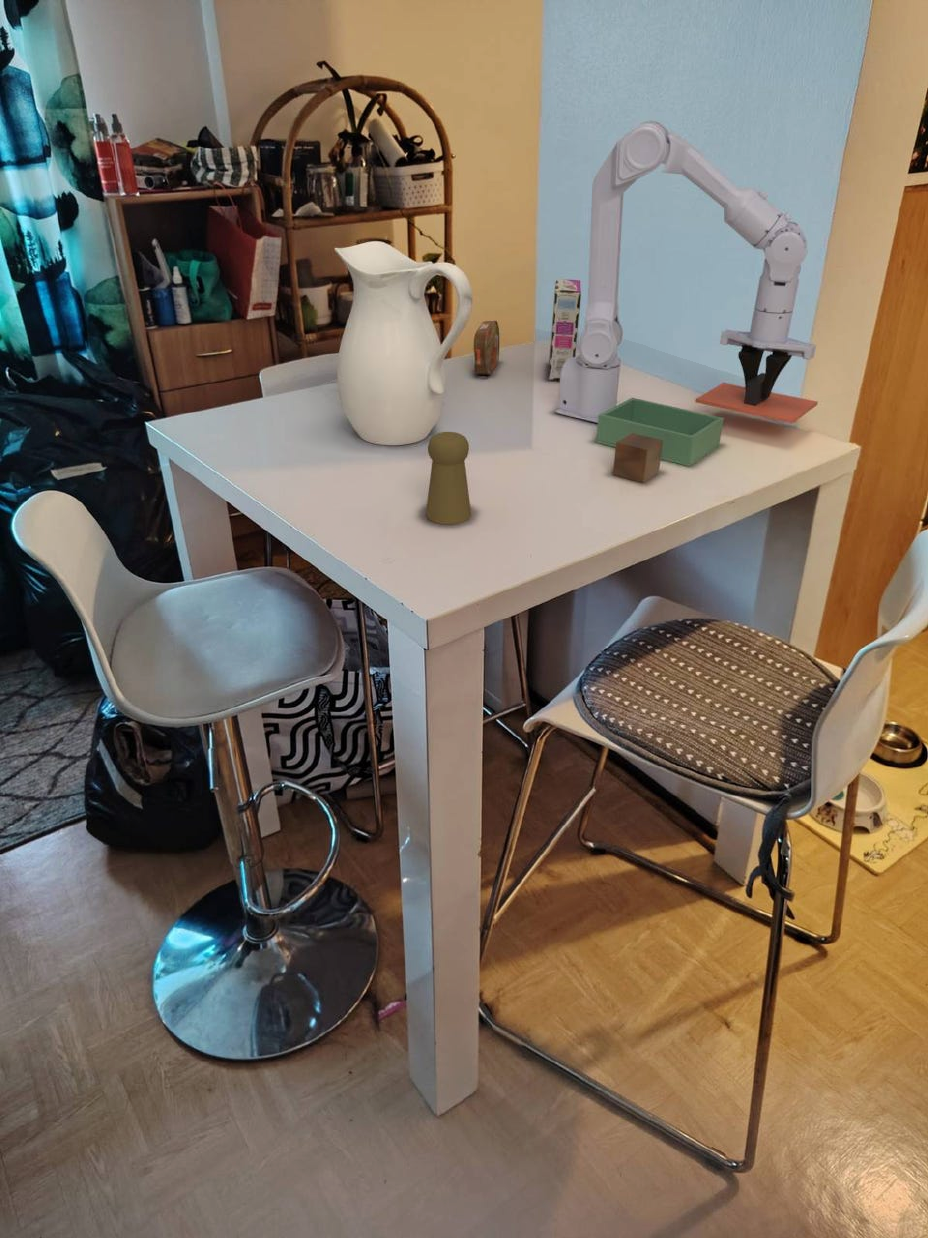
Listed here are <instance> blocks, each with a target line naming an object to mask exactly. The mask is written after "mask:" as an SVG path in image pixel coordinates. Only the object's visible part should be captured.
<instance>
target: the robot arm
mask: <svg viewBox="0 0 928 1238" xmlns="http://www.w3.org/2000/svg"><path fill="white" fill-rule="evenodd" d="M661 164H663V165H664V166H663V169H662V173H663V174H675V175H682V176H683V177H685V178H686V179H687V180H689V181H690V182H691V183H692V184H693V185H695V186H696V187H698V188H699V190H701V191H703V192H704V193H705V194H706V195H707V196H708V197H710V198H711V199H712V200H713V201H714V202H715V203H717V204H718V205H720V206H721V207H722V208H723V211H724V212H723V220H724V223H725V224H727V226H729V227H730V228H731V229H732V230H734V232H736V233H737V234H738V235H739V236H740V237H741V238H743V240H744V241H746V242H747V243H748V244H750V245H751V246H752V247H753V248H754V249H755V250H762V251H763V253H764V261H763V268H762V271H761V272H762V273H761V275H760V276H759V280H758V285H757V286H758V287H757V291H756V296H755V303H754V308H753V312H752V318H751V325H750V329H749V330H750V331H741V330H740V331H739V330H733V329H732V330H731V329H725V330H723V331H722V332H721V335H720V341H719V342H720V343H719V345H724V346H727V345H729V346H735V347H741V349H740V351H738V354H737V355H738V360H739V363H740V366H741V369H742V373H743V377H744V387H745V389H746V388H747V382H748V381H749V380H751V379H753V378H754V377H756V376H757V375H759V370H760V365H761V362H762V359H763V355H764V353H765V352H769V353H771V354H769V355H767V356H765V380H764V384H763V388H762V395H761V399H767V398H768V397H770V394H771V392H772V391H773V388H774V387H775V384H776V382H777V380H778V377H779V376H780V374H781V373H782V372H783V370H784V368H785V367H786V365H787V364H788V363H789V361H790V360H791V359H792V357H799V358H802V359H803V360H808V361H810V360H812V359H813V358H814V357H815V352H816V347H817V344H815V343H809V342H806V341H801V340H797V339H793V338H791V337H789V333H790V327H791V323H792V317H793V312H794V308H795V303H796V298H797V292H798V287H799V282H800V279H799V276H800V273H801V271H802V270H801V269H802V263H803V262H804V260H805V259H806V257H807V256H808V251H809V250H808V241H807V238H806V236H805V233H804V231H803V229H802V228H801V227H800V226H799V224H798V222H795V221H792V216H791V215H790V214H789V213H788V212H786V213H784V214H783V213H782V212H781V210H779V209H778V208H777V207H776V206H775V205H774V204H773V203H771V202H770V201H769V200H768V199H767V198H768V193H767V192H766V191H765V190H763V189H759V190H758V191H757V190H756V189H755V188H754V187H747V188H738V186H737V185H735V183H733V182H732V181H731V180H730V179H729V178H728V177H727V176H726V175H725V174H723V173H722V171H720V170H719V169H718V167H716V166H715V165H714V164H713V163H712V162H711V161H710V160H709V159H707V157H705V155H704V154H703V153H702V152H700V151H699V150H698V148H696V147H695V146H694V145H693V144H692V143H690V142H689V141H688V140H686V139H684V138H683V137H682V136H679V135H678V134H676V133H675V132H673V131H670V132H669V131H668V129H667V127H665V125H663V124H662V123H661V122H659V121H657V120H646V121H643V122H641V123H639V124H637V125H636V126H634V127H633V128H631V129H630V130H629V131H628V132H626V133H625V134H624V135H623V136H621V137H620V138H619V139H618V140H617V141H616V143H615V144H614V147H613V148H612V149H611V151H610V153H609V154H608V156H607V157H606V159H605V160H604V161H603V164H602V165H601V167H600V168H599V170H598V171H597V173H596V175H594V178H593V179H592V180H593V181H592V187H591V188H592V189H591V210H590V211H591V214H590V235H589V237H590V239H589V265H588V286H587V287H588V288H587V289H588V291H587V306H586V312H585V317H584V328H583V332H582V334H580V335H581V336H580V337H579V339H578V341H577V351H578V355H577V357H571V358H569V359H568V360H567V361H566V362H565V363H564V365H563V368H562V370H561V375H560V381H559V387H558V401H557V408H556V409H555V413H556V414H559V415H563V416H566V417H572V418H575V419H580V420H584V421H587V422H592V423H595V424H598V418H599V415H600V414H602V413H604V412H606V411H608V410H609V409H611V408H613V407H615V406H617V400H618V391H619V382H620V373H621V372H620V371H621V362H622V359H621V358H620V357H619V355H618V353H617V351H618V347H619V346H620V344H621V343H622V340H623V336H624V332H623V331H624V330H623V327H622V324H621V322H620V319H619V299H618V298H619V297H618V296H619V295H618V294H619V281H620V280H619V279H620V265H621V264H620V261H621V242H622V225H623V208H624V195H625V192H626V191H627V190H628V189H629V188H631V187H632V185H633V184H634V183H636V181H637V180H638V179H640V178H642V177H644V176H646V175H648V174H650V173H652V172H654V171H655V170H657V169H658V168H659V167H660V166H661Z"/></svg>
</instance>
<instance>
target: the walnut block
mask: <svg viewBox="0 0 928 1238" xmlns="http://www.w3.org/2000/svg"><path fill="white" fill-rule="evenodd" d="M662 446H663V440H659V439H655V438H651V437H647V436H643V435H639V434H635V433H631V434H630V435H628V436H626V437H624V438H623V439H621V440H619V441H618V442H616V447H614V448H615V449H614V458H613V466H612V467H613V468H612V476H615V477H619V478H622V479H627V480H631V481H634V482H636V483H637V482H638V483H641V484H644V483H646V482H648V481H649V480H651V478H653V477H654V476H656V475H658V474H659V473H660V467H661V460H662V459H661V453H662Z"/></svg>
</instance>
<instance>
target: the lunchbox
mask: <svg viewBox="0 0 928 1238" xmlns="http://www.w3.org/2000/svg"><path fill="white" fill-rule="evenodd" d="M724 420H725V418H724V417H720V416H715V415H711V414H708V413H703V412H698V411H693V410H688V409H685V408H680V407H676V406H671V405H667V404H663V403H658V402H654V401H649V400H645V399H639V398H635V397H631V398H628V399H627V400H625V401H623V402H621V403H619V404H616V406H615V407H613V408H611V409H609V410H608V411H606V412H604V413H602V414H600V415H599V418H598V423H597V428H596V429H597V431H596V439H595V442H596V443H597V444H600V445H605V446H609V447H611V448H612V447H613V448H616V442H618V441H619V440H621V439H623V438H624V437H626V436H628V435H630V434H631V433H635V434H639V435H643V436H647V437H651V438H655V439H659V440H663V446H662V453H661V460H663V461H667V462H670V463H675V464H677V465H678V464H679V465H682V466H687V467H691V466H692V465H694V464H695V463H697V462H698V461H700V460H701V459H702V458H704V457H705V456H706V455H708V454H710V453H711V452H712V451H714V450H715V449H716V448H718V447H719V446H720V444H721V437H722V433H723V426H724Z"/></svg>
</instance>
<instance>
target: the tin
mask: <svg viewBox="0 0 928 1238" xmlns="http://www.w3.org/2000/svg"><path fill="white" fill-rule="evenodd" d="M473 352H474V353H473V354H474V355H473V356H474V371H475V374H476V375H478V376H482V375H483V376H491V375H492V374H493V372H494V370H495V368H496V366H497V364H498V363H499V357H500V328H499V323H498V321H497V320H486V321H483V322H482V323H481V324H480V325H479V327H478V329H476V331H475V333H474V336H473Z"/></svg>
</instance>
